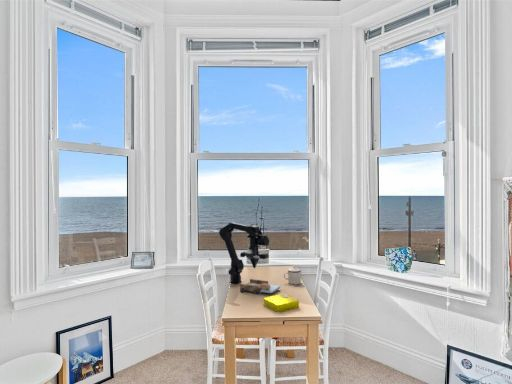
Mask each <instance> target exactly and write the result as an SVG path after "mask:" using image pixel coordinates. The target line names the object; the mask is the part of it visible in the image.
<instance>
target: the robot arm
mask: <svg viewBox="0 0 512 384" xmlns="http://www.w3.org/2000/svg"><path fill="white" fill-rule="evenodd" d="M234 230H238V231H242V232H246V234H248V235H247V236H246V238H249V246H248V249H247V250H246V251H242V252H240V254H239V256H240V257H241V258H245V257H246V258H247V259H248V260H250V262H251V265H252V268H253V269H256V267H257V264H258V262H259V260H260V259H261V260H266V259H268V258H269V257H270V255H269V254H268V253H267V252H266V253H265V252H262V253H260V251H259V248H260V246H262V247H267V246H269V244H270V238H269V237H268V235H267V234H263V232H262V230H261V229H260V227H259V226H258V225H246V224H243V223H237V222H234V221H233V222H231V221H230V222H229V223H228V224H227V225H225V226H223V227H222V228H219V232H218V234H219V236H220V238H221V239H222V240H223V242H224V243H225V247H226V250H227V252H228V255H229V258H230V269H229V270H228V275H230V281H229V284H234V285H238V284H241V283H242V275H241V273H242V272H243V270H244V265H245V264H244V263H243V260H242V259H240V258H239V256H238V254H237V251H236V248H235V245H234V243H233V239H232V236H233V235H232V234H233V233H232V232H233V231H234Z"/></svg>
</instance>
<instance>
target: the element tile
mask: <svg viewBox="0 0 512 384" xmlns="http://www.w3.org/2000/svg"><path fill="white" fill-rule="evenodd" d="M263 306H264V307H266V308H268V309H269V310H271V311H273V312H275V313H280V314H281V313H285V312H288V311H292V310H296V309H299V308H300V299H298V298H295V297H294V296H290V295H288V294H287V293H280V294H279V293H278V294H274V295H269V296H266V297H265V296H264V297H263Z"/></svg>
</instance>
